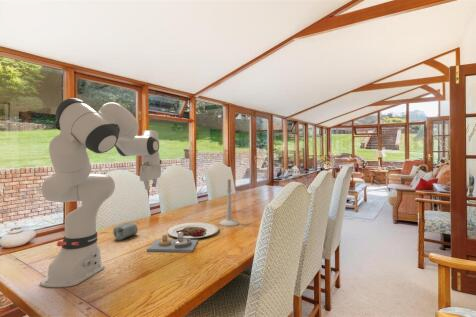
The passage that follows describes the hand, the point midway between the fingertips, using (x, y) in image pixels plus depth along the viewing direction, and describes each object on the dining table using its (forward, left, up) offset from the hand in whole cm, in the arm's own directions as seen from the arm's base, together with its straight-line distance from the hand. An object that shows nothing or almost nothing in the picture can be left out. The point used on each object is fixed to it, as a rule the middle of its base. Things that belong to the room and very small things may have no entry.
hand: (150, 188), depth 137 cm
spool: (+9, +18, -29) cm, 36 cm away
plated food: (+20, -18, -30) cm, 40 cm away
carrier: (-4, -13, -29) cm, 32 cm away
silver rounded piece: (-4, -16, -28) cm, 33 cm away
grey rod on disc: (+39, -38, -29) cm, 62 cm away
